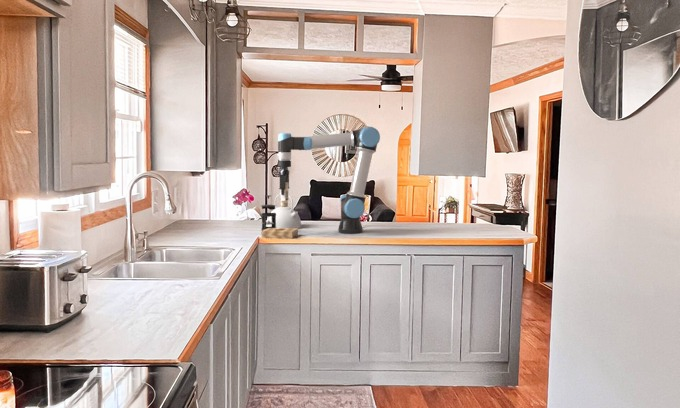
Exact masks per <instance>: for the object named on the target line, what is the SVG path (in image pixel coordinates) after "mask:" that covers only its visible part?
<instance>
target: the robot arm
mask: <svg viewBox="0 0 680 408" xmlns="http://www.w3.org/2000/svg"><path fill="white" fill-rule="evenodd" d="M277 138H278V139H277V154H276V155H277V159H278V160H277V167H279V168H280V171H279V172H278V173H279V188H278V189H279V190H280V189H281V200H280V202H281V201H286V189H285V182H288V190H289V189H290V170H289V168H291V167H292V160H291V159H292V151H310V150H314V149H315V150H316V149H323V148H334V147H335V148H336V147H345V146H351V147H356V148H355V149H356V151H357V156H356V159H355V160H356V161H355V164H354V169H353V173H352V179H351V183H350V184H351V185H350V189H349V191H347V192H346V194H342V195H340V222H339V225H338V229H337V230H338V231H337V232H338V233H340V234H361V233H363V232H364V231H363V230H364V229H363V224H362V222H361V221H362V220H361V216H362V215H363V214H364V213H365V211H366V208H365V203H366V199H367V197H366V195H365V191H366V186H367V182H368V176H369V173H370V167H371V163H372V157H373V154H375V153H376V152H377V148H378V144H379V142H380V140H381V134H380V132H379V130H378V129H377V128H375V127H373V126H364V127H363V128H359V129H354V130H351V131H350V132H344V133H343V132H342V133H341V132H340V133H331V134H321V135H313V136H293V135H292V134H291V133H288V132H286V133H285V132H281V133H278V135H277Z"/></svg>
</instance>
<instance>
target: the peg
mask: <svg viewBox="0 0 680 408" xmlns="http://www.w3.org/2000/svg"><path fill="white" fill-rule="evenodd" d="M285 189H286V201H281V189H279V191H280V193H279V194H280V195H279V196H280V197H279V200H280V207H289V199H290V197H289V196H288V195H289V189H288V182H285Z"/></svg>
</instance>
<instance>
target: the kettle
mask: <svg viewBox="0 0 680 408" xmlns="http://www.w3.org/2000/svg"><path fill="white" fill-rule="evenodd" d="M279 196H280V193H279V194H277V195H276V196H275V198H274V205H276V206H275V209H273V210H271V211H270V213H276V228H298V230H299V229H301V228H302V221H301V217H300V215H299V212H298V211H296V210H294V209H293V207H294V202H293V201H294V200H293V197H292V196H290V194H288V198H289V199H290V201H291V207H289V206H288V207H281V206H278V207H277V199H278V197H279ZM268 221H270V222H272V216H271V217H266V222H268ZM266 227H272V224H270V225H266Z"/></svg>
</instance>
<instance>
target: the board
mask: <svg viewBox="0 0 680 408" xmlns="http://www.w3.org/2000/svg"><path fill="white" fill-rule="evenodd" d="M261 232H262V234H261V239H286V240H287V239H289V240H293V239H294V238H296V237H298V236H299V229H298V228H267V229H265V230H263V231H262V230H261ZM295 236H296V237H295Z"/></svg>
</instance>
